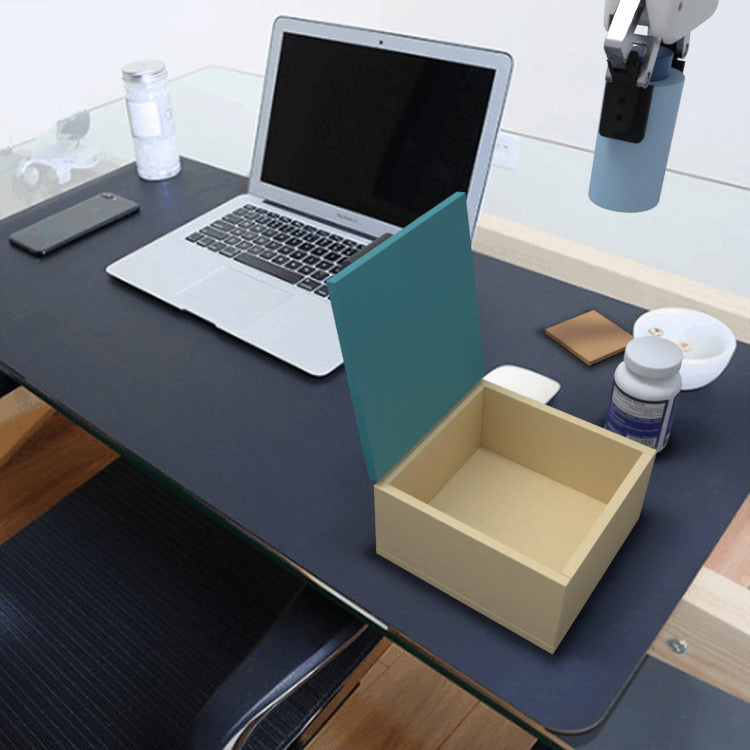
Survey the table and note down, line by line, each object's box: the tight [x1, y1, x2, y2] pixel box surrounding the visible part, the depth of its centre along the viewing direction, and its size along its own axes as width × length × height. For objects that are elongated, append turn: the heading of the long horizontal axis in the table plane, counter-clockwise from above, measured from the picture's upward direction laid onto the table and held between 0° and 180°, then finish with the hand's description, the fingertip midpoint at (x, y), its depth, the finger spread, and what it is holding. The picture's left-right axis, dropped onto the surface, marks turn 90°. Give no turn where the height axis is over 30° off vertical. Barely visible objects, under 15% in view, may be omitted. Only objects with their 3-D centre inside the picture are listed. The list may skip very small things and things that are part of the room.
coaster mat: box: [544, 309, 634, 367], centre depth 86 cm, size 7×7×1 cm
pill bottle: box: [603, 335, 684, 454], centre depth 71 cm, size 6×6×10 cm
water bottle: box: [587, 45, 686, 214], centre depth 59 cm, size 5×5×11 cm
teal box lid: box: [325, 191, 486, 483], centre depth 60 cm, size 16×16×4 cm
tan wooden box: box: [373, 378, 657, 655], centre depth 62 cm, size 16×16×8 cm
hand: (637, 122), depth 59 cm, fingers closed on water bottle, 5 cm apart
